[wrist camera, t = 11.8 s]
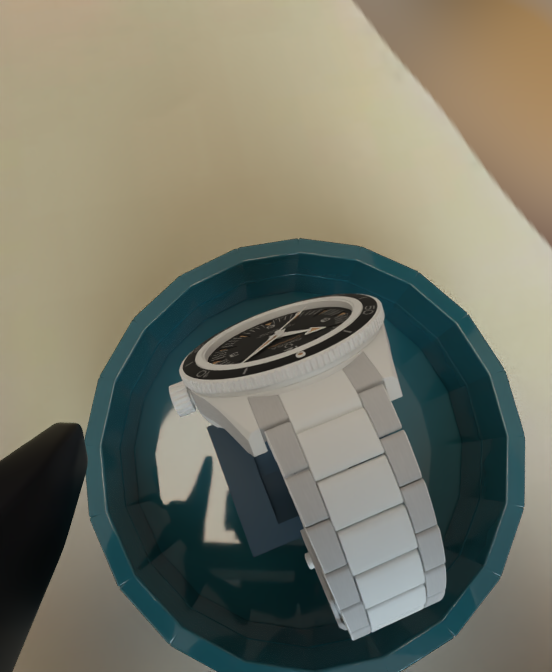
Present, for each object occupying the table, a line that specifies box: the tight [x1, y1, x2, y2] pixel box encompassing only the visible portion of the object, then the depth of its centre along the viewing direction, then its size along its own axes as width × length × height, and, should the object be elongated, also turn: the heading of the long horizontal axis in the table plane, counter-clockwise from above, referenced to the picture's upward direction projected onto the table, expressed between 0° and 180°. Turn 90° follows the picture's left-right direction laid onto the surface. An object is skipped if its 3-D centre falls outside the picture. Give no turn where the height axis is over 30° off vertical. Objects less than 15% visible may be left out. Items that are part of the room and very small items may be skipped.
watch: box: [169, 294, 446, 640], centre depth 14 cm, size 6×8×11 cm
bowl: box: [84, 238, 525, 672], centre depth 18 cm, size 14×14×4 cm
